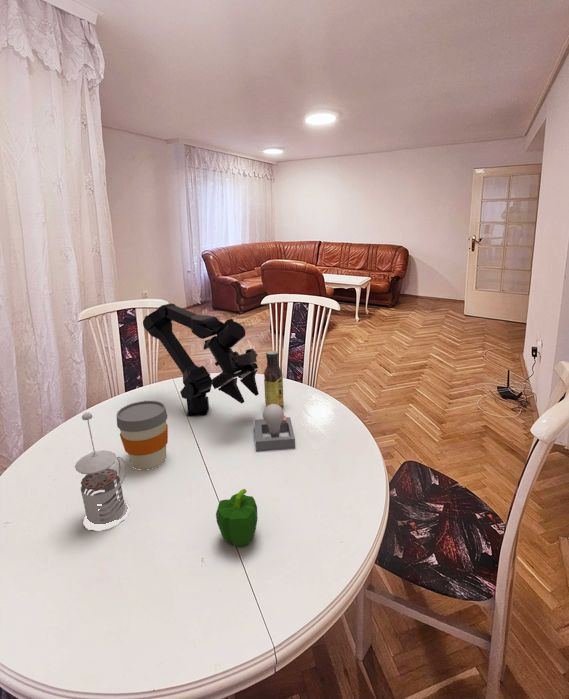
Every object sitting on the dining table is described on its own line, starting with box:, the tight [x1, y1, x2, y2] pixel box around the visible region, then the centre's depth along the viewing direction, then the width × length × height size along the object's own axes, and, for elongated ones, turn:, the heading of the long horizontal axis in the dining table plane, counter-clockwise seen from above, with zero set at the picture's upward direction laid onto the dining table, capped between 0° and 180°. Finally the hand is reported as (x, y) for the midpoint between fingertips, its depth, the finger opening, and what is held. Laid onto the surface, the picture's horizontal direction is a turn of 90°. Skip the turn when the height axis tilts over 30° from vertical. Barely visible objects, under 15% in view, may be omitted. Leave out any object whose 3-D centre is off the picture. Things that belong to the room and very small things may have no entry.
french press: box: [74, 411, 128, 524], centre depth 85 cm, size 10×12×25 cm
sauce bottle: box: [263, 350, 284, 409], centre depth 134 cm, size 7×6×20 cm
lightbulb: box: [262, 404, 285, 438], centre depth 115 cm, size 6×6×11 cm
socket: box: [254, 415, 296, 452], centre depth 117 cm, size 11×13×4 cm
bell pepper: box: [215, 488, 258, 548], centre depth 79 cm, size 8×8×10 cm
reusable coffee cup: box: [116, 400, 169, 471], centre depth 106 cm, size 13×13×15 cm
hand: (250, 398), depth 119 cm, fingers open, 9 cm apart
